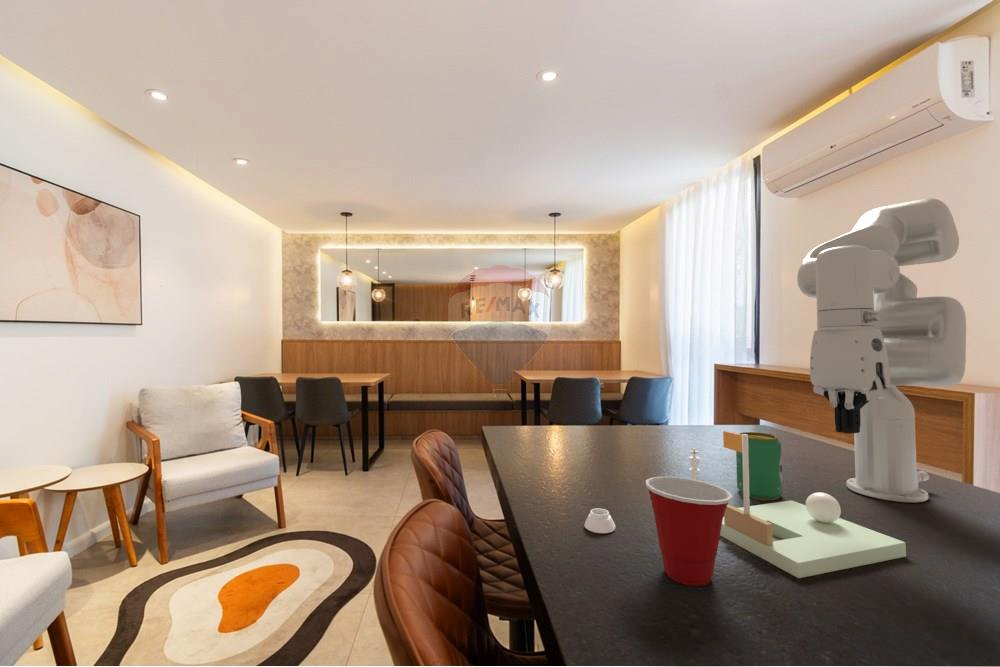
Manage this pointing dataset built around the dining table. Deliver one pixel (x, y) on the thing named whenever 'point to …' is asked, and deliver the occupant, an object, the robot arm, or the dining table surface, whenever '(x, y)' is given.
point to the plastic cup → (688, 526)
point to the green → (800, 532)
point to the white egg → (823, 507)
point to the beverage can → (762, 466)
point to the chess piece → (694, 464)
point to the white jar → (599, 521)
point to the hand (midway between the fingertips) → (847, 432)
